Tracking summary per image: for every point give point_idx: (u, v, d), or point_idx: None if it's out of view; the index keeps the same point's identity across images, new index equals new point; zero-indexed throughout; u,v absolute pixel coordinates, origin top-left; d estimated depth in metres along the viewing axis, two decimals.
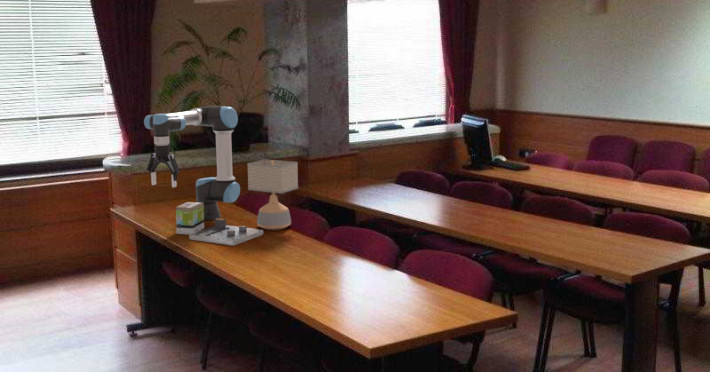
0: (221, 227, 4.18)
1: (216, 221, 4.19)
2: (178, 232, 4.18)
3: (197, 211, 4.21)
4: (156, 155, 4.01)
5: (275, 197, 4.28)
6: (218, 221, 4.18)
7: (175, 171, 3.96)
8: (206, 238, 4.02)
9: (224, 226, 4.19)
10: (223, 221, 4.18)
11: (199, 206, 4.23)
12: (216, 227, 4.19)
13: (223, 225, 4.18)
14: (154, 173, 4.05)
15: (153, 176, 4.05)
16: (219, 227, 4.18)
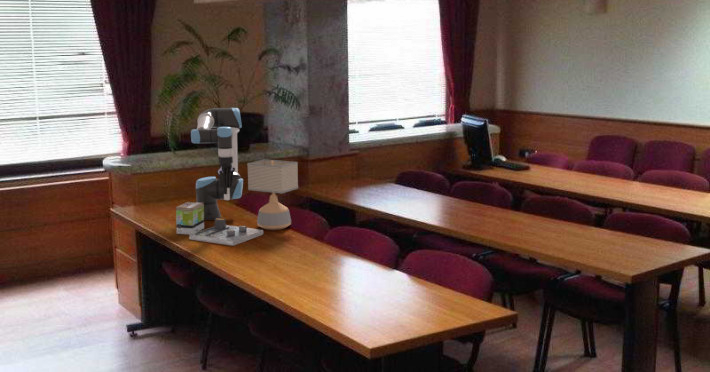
0: (221, 227, 4.18)
1: (216, 221, 4.19)
2: (178, 232, 4.18)
3: (197, 211, 4.21)
4: None
5: (275, 197, 4.28)
6: (218, 221, 4.18)
7: None
8: (206, 238, 4.02)
9: (224, 226, 4.19)
10: (223, 221, 4.18)
11: (199, 206, 4.23)
12: (216, 227, 4.19)
13: (223, 225, 4.18)
14: None
15: None
16: (219, 227, 4.18)
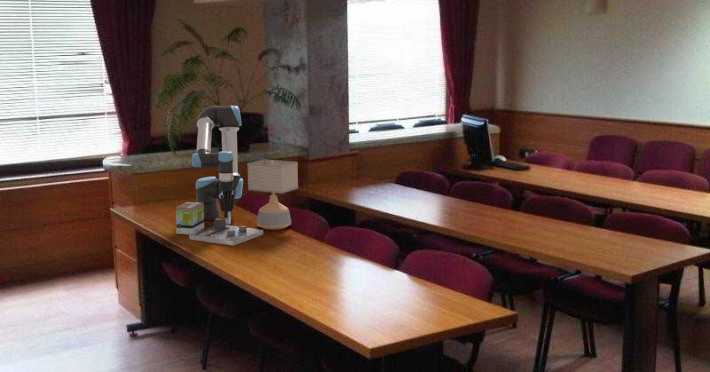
0: (221, 227, 4.18)
1: (216, 221, 4.19)
2: (178, 232, 4.18)
3: (197, 211, 4.21)
4: None
5: (275, 197, 4.28)
6: (218, 221, 4.18)
7: None
8: (206, 238, 4.02)
9: (224, 226, 4.19)
10: (223, 221, 4.18)
11: (199, 206, 4.23)
12: (216, 227, 4.19)
13: (223, 225, 4.18)
14: None
15: None
16: (219, 227, 4.18)
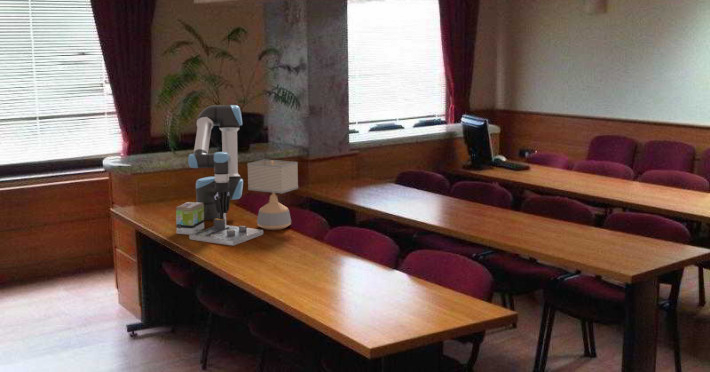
0: (220, 227, 4.17)
1: (215, 221, 4.18)
2: (178, 232, 4.18)
3: (197, 211, 4.21)
4: None
5: (275, 197, 4.28)
6: (217, 221, 4.17)
7: None
8: (206, 238, 4.02)
9: (223, 226, 4.18)
10: (222, 221, 4.17)
11: (199, 206, 4.23)
12: (215, 227, 4.19)
13: (222, 225, 4.17)
14: None
15: None
16: (218, 227, 4.18)
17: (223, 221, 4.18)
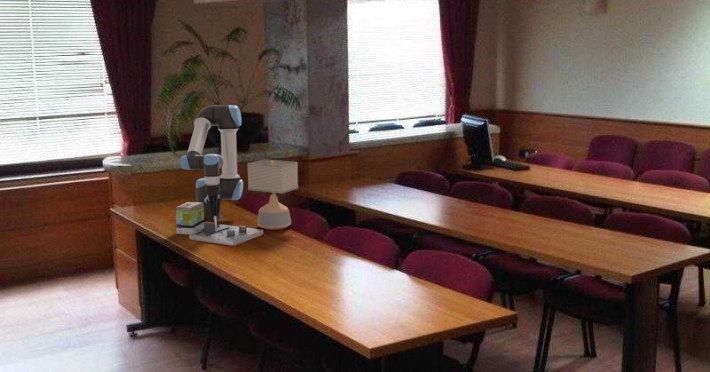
0: (210, 231, 4.10)
1: (205, 224, 4.11)
2: (178, 232, 4.18)
3: (197, 211, 4.21)
4: None
5: (275, 197, 4.28)
6: (207, 224, 4.10)
7: None
8: (206, 238, 4.02)
9: (214, 230, 4.11)
10: (212, 224, 4.10)
11: (199, 206, 4.23)
12: (205, 231, 4.12)
13: (212, 229, 4.10)
14: None
15: None
16: (208, 231, 4.11)
17: (213, 224, 4.11)
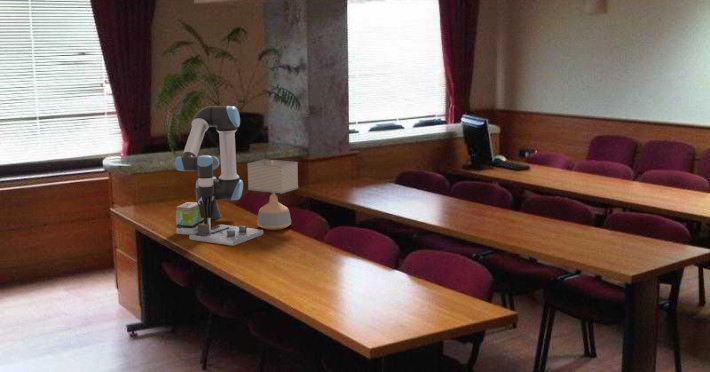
0: (204, 233, 4.06)
1: (199, 226, 4.07)
2: (178, 232, 4.18)
3: (197, 211, 4.21)
4: None
5: (275, 197, 4.28)
6: (201, 226, 4.06)
7: None
8: (206, 238, 4.02)
9: (207, 232, 4.07)
10: (206, 226, 4.06)
11: None
12: (199, 233, 4.07)
13: (206, 231, 4.06)
14: None
15: None
16: (202, 233, 4.06)
17: (207, 226, 4.06)
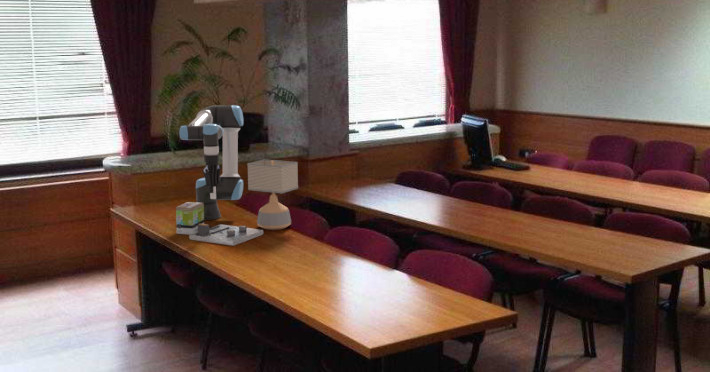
0: (204, 233, 4.06)
1: (199, 226, 4.07)
2: (178, 232, 4.18)
3: (197, 211, 4.21)
4: None
5: (275, 197, 4.28)
6: (201, 226, 4.06)
7: None
8: (206, 238, 4.02)
9: (207, 232, 4.07)
10: (206, 226, 4.06)
11: (199, 206, 4.23)
12: (199, 233, 4.07)
13: (206, 231, 4.06)
14: None
15: None
16: (202, 233, 4.06)
17: (207, 226, 4.06)
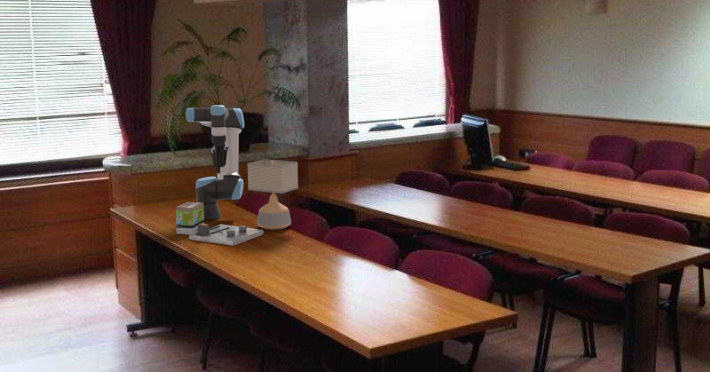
0: (204, 233, 4.06)
1: (199, 226, 4.07)
2: (178, 232, 4.18)
3: (197, 211, 4.21)
4: None
5: (275, 197, 4.28)
6: (201, 226, 4.06)
7: None
8: (206, 238, 4.02)
9: (207, 232, 4.07)
10: (206, 226, 4.06)
11: (199, 206, 4.23)
12: (199, 233, 4.07)
13: (206, 231, 4.06)
14: None
15: None
16: (202, 233, 4.06)
17: (207, 226, 4.06)
